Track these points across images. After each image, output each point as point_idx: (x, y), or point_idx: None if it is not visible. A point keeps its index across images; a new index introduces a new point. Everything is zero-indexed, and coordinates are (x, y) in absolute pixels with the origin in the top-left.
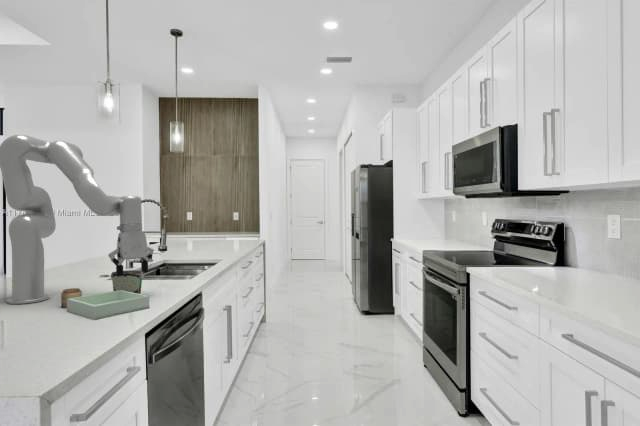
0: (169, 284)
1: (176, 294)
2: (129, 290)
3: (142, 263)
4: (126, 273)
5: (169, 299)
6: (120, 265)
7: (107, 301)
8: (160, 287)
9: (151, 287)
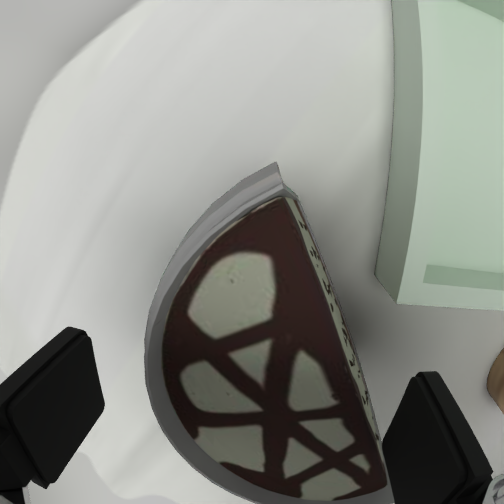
0: (3, 365)
1: (66, 126)
2: (326, 278)
3: (51, 455)
4: (278, 454)
5: (177, 30)
6: (475, 486)
7: (467, 270)
8: None
9: None
